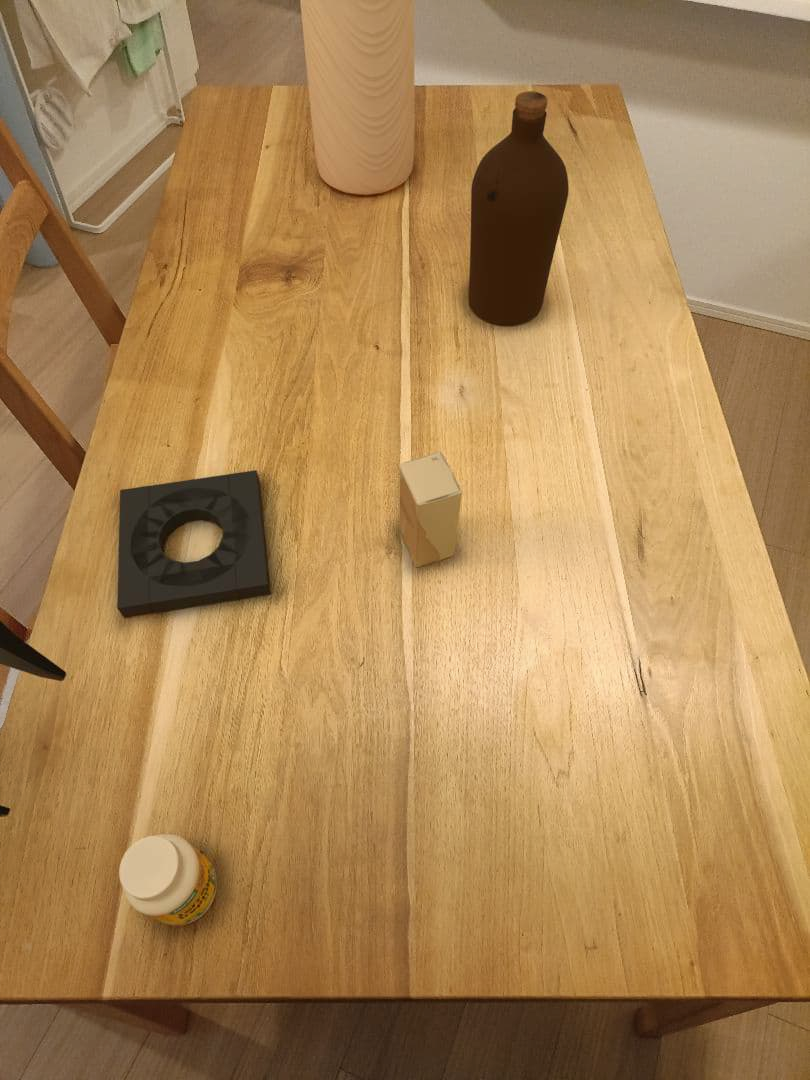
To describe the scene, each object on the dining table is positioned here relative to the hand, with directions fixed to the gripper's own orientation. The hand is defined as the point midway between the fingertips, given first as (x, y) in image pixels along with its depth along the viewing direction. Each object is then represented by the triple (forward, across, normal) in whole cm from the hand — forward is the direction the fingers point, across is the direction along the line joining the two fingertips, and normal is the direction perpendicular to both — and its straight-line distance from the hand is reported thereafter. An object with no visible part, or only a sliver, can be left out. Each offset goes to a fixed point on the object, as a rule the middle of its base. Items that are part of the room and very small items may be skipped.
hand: (38, 741), depth 51 cm
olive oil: (+32, +67, 0) cm, 74 cm away
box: (+27, +29, +2) cm, 40 cm away
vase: (+12, +93, +11) cm, 94 cm away
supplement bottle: (+14, -6, +10) cm, 18 cm away
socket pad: (+7, +25, +14) cm, 30 cm away
